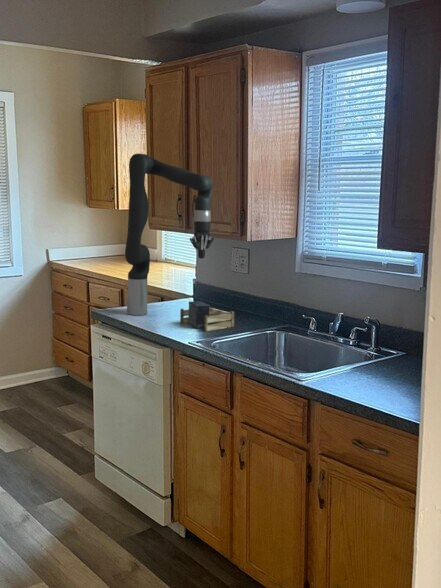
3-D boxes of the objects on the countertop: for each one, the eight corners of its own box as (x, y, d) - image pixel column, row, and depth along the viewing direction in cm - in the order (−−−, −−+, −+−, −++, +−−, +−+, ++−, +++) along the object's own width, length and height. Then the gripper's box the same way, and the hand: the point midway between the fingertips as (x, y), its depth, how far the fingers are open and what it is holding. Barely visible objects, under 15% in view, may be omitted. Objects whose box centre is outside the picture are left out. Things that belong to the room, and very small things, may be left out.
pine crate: (179, 323, 289) (180, 308, 287) (207, 319, 299) (207, 305, 298) (206, 331, 275) (206, 315, 274) (233, 326, 286) (234, 311, 284)
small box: (209, 328, 281) (210, 304, 280) (195, 329, 279) (196, 305, 277) (200, 323, 291) (201, 300, 289) (187, 324, 288) (188, 301, 287)
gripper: (208, 219, 296) (207, 256, 299) (185, 219, 288) (185, 258, 291) (218, 220, 291) (217, 258, 294) (196, 221, 282) (195, 260, 285)
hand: (201, 258), depth 292 cm, fingers closed
